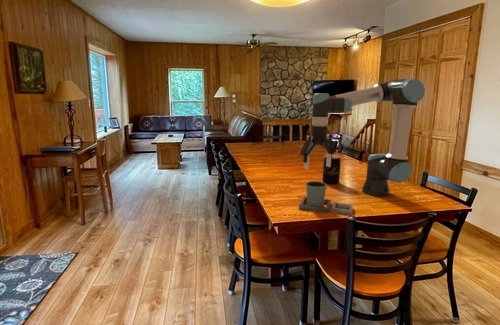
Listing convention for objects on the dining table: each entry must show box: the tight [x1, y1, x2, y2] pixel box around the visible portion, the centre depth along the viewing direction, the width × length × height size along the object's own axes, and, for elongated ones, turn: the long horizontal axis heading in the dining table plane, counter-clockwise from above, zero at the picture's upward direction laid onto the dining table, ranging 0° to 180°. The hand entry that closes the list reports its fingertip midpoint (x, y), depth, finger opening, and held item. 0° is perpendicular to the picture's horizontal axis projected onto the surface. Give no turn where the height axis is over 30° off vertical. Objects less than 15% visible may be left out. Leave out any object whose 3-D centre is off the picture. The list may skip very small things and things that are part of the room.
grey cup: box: [305, 180, 327, 207], centre depth 160 cm, size 10×10×12 cm
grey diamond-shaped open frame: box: [331, 202, 354, 216], centre depth 155 cm, size 9×9×2 cm
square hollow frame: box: [298, 196, 332, 214], centre depth 161 cm, size 14×14×2 cm
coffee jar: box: [322, 154, 342, 186], centre depth 204 cm, size 11×11×18 cm
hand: (317, 167), depth 157 cm, fingers open, 13 cm apart
